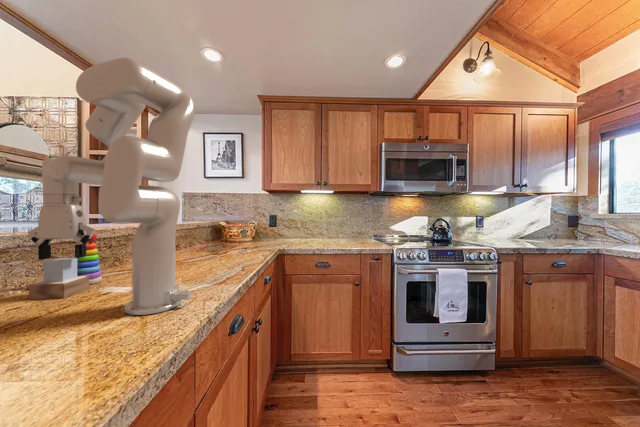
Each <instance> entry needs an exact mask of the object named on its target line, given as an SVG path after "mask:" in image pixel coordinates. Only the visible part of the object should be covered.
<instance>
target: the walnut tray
mask: <svg viewBox="0 0 640 427" xmlns="http://www.w3.org/2000/svg"><path fill="white" fill-rule="evenodd" d="M89 289H90V285H89V276H77V277H76V278H73V279H70V280H67V281H64V282H44V280H41V281H37V282H34V283H33V282H32V283H31V284H29V285H28V300H49V299H51V300H52V299H66V298H68V297H72V296H73V295H76V294H80V293H82V292H84V290H85V291H86V290H89Z"/></svg>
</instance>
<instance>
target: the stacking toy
mask: <svg viewBox="0 0 640 427" xmlns="http://www.w3.org/2000/svg"><path fill="white" fill-rule="evenodd" d="M97 234H98V233H97V232H96V231H95V232H94V234H93V236H92V238H91V239H90V240H89V242H88V243H87V244H86V257H82V258H77V276H89V286H91V285H90V284H92V285H95V283H96V284H98V283H100V282H102V280H103V276H101V275H103V274H102V273H103V272H102V271H101V266H100V265H99V264H100V260H99V254H98V253H99V250H98V249H97V246H98V244H97V243H96V242H95V241H96V240H97V238H98V235H97Z"/></svg>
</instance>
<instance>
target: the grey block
mask: <svg viewBox="0 0 640 427" xmlns="http://www.w3.org/2000/svg"><path fill="white" fill-rule="evenodd" d="M76 277H77V258H75V257H62V258H61V257H58V258H54V259H49V260H44V261H43V281H44V282H64V281H67V280H70V279H73V278H76Z"/></svg>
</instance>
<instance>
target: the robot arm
mask: <svg viewBox="0 0 640 427" xmlns="http://www.w3.org/2000/svg"><path fill="white" fill-rule="evenodd" d="M75 89H76V90H75V91H76V93H77V95H78V96H79V98H80V99H81V100H83V101H85V102H87V103H88V104H92V105H95V106H96V107H95V108H94V109H93V111H92V113H91V114H90V116H89V117H88V119H87V120H86V121H85V124H84V125H85V128H86V130H87V131H88V133H89V134H90V135H92V136H93V137H94V138H96V139H97V140H98V141H99V142H101V143H102V144H104V145H106V146H107V147H108V150H107V153H106V154H105V155H104V157H103V158H102V160H98V159H93V158H88V157H87V158H86V157H82V156H81V157H80V156H75V155H69V154H67V155H66V154H61V155H58V156H56V157H54V158H46V159H44V160H43V161H42V163H41V176H42V178H41V179H42V180H41V182H42V183H41V184H42V205H41V206H40V209H39V215H38V222H37V224H38V225H37V227H35V228H33V229H30V230H28V231H27V234H28V236H29V237H30V239H31V241H32V242H33V243H34V245H35V246H36V247H37V248H38V249H37V252H38V253H37V255H38V260H39V261H40V260H41V261H42V260H47V259H49V260H50V259H51V258H52V246H51V244H50V243H51V242H52V241H53V240H65V239H66V240H67V239H68V240H69V239H72V240H73V242H75V243H76V244H75V245H74V258H82V257H86V244H87V243H88V242H89V240H90V239H91V238H92V236H93V234H94V232H96V229H95V228H93V227H91V226H88V225H87V221H86V220H87V219H86V215H85V210H84V208H83V205H80V202H82V201H83V198H82V197H81V196H79V195H80V194H79V184H88V185H95V186H96V185H99V186H100V188H99V195H98V210H99V213H100V215H101V217H102V218H103V219H104V220H106V221H107V222H109V223H112V224H116V225H117V224H121V225H123V224H124V225H125V224H126V225H129V224H139V225H138V227H137V229H136V231H135V232H134V235H133V238H132V243H131V244H132V245H131V246H132V248H131V250H132V251H131V255H132V258H131V261H132V262H131V264H132V265H131V267H132V268H131V273H132V274H131V275H132V276H131V278H132V279H131V280H132V281H131V288H132V289H131V298H132V299H131V301H129V302H127V303H126V304H125V305H124V307H123V308H124V313H126V314H127V315H131V316H132V315H133V316H134V315H135V316H144V315H145V316H146V315H152V314H153V315H154V314H158V313H163V312H165V311H168V310H173V309H175V308H176V307H179V306H180V305H181V304H182V300H183V301H184V300H185V301H186V300H190V299H191V295H192V294H191V291H190V289H189V290H188V289H187V290H186V289H184V290H181V289H180V285H177V284H176V239H177V238H176V237H177V236H176V234H177V224H178V218H179V215H180V210H181V204H180V198H179V197H178V196H177V194H176V193H175V192H174V191H173V190H171V189H170V188H166V187H163V186H157V185H149V184H141V182H142V181H143V180H145V181H152V182H161V183H169V182H170V183H171V182H173V181H176V180H177V179H178V178H179V176H180V172H181V171H182V166H183V161H184V155H185V151H186V146H187V145H186V144H187V141H188V135H189V132H190V128H191V125H192V123H193V120H194V116H195V109H196V108H195V102H194V99H193V97H192V96H191V95H190V93H188V92H187V91H186V89H184V88H182V87H181V86H179V85H178V84H177V83H175V82H174V81H172V80H171V79H169V78H168V77H166V76H164V75H162V74H160V73H158V72H156V71H155V70H153V69H152V68H150V67H149V66H146V65H145V64H143V63H141V62H140V61H138V60H136V59H133V58H131V57H130V58H129V57H118V58H115V59H111V60H108V61H105V62H101V63H97V64H94V65H92V66H90V67H88V68H86V69H85V70H83V71H82V72H81V73H80V75H79V76H78V78H77V80H76V83H75ZM146 107H149V108H152V109H154V110H156V111H159V113H158V114H157V115H155V116H154V118H153V119H152V120H151V121H150V122H149V127H148V132H147V133H148V134H147V137H146V139H145V138H141V137H137V136H134V135H127V134H128V133H129V131H130V130H131V129H132V128H133V126H134V125H135V123H136V122H137V120H138V119H139V118H140V116H141V115H142V113H143V112H144V110H146V109H145V108H146Z"/></svg>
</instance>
